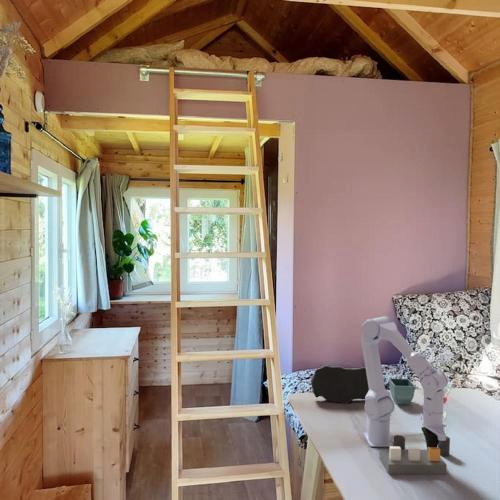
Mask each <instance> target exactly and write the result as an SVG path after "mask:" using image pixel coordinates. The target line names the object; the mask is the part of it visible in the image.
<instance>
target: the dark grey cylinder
mask: <svg viewBox="0 0 500 500" xmlns="http://www.w3.org/2000/svg"><path fill="white" fill-rule="evenodd" d="M450 445H451V438H450V437H449V436H447V435H446V441H439V443H438V446H437V447H439V448H440V457H445V458H446V457H450V449H451V448H450Z"/></svg>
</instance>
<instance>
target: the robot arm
mask: <svg viewBox="0 0 500 500" xmlns="http://www.w3.org/2000/svg"><path fill="white" fill-rule="evenodd" d="M360 327H361V337H360V342H361V343H360V344H361V349H362V355H363V360H364V361H363V362H364V367H365V368H366V374H367V380H368V386H369V391H368V393H367V395H366V396H365V399H364V401H365V403H364V412H365V414H366V419H365V420H366V422H365V424H366V427H365V432H363V436H364V438H365V440H366V441H367V443H368V445H369V446H370V447H372V448H374V447H375V448H377V447H378V448H381V447H382V448H389V446H394V443H393V442H391V439H390V433H391V432H390V428H391V426H390V425H391V417H392V413H393V412H394V410H395V405H396V404H395V401H394V400H393V398H392V395H391V392H390V390H388V389H386V387H385V385H386V384H385V381H384V374H383V369H382V364H381V356H380V352H379V351H380V350H379V345H378V344H379V342H380V341H381V340H383V341H389V342H390V343H391V344H392V345H393V346H394V347H395V349H397V350H398V351H399V352H400V353H401V354H402V355H403V357H405V358H406V365H407V366H408V367H409V368H410V369H411V370H412V371H413V373H414V374H415V375H416V376H417V378H418V379H419V380H420V386H421V388H422V390H423V409H422V411H423V413H420V418H419V419H420V420H421V425H422V427H421V428H420V429H421V431H422V433H423V435H424V439H425V444H426V450H428V447H438V443H439V441H446V436H447V434H446V432H445V428H446V427H447V424H446V423H445V422H444V420H443V419H444V418H443V417H444V396H445V395H444V394H445V390H444V389H445V388H446V387H447V386H448V382H449V381H448V378H447V375H446V374H445V372H443V371H442V370H440V369H437V368H436V367H435V366H433V365H432V363H430V361H428V359H427V358H426V355H425V354H424V353H421V352H419V351H415V350H414V349H413V348H412V346H411V345H410V344H409V342H408V341H407V340H406V339H405V338H404V336H403V335H402V334H401V332H400V331H399V329H398V327H397V324H396V323H395V322H393V320H392V319H391V318H390V317H389V316H387V315H383V316H379V317H375V318H367V319H366V320H365V321H364V322H363V323H362V324H361V325H360Z"/></svg>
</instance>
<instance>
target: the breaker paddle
mask: <svg viewBox="0 0 500 500" xmlns="http://www.w3.org/2000/svg"><path fill="white" fill-rule="evenodd" d="M440 457H441V455H440V448H439V447H438V446H437V447H428V460H429V461H440Z"/></svg>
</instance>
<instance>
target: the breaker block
mask: <svg viewBox="0 0 500 500" xmlns="http://www.w3.org/2000/svg"><path fill="white" fill-rule="evenodd" d="M407 448H408V449H406V448H405V449H401V448H400V446H394V445H393V446H389V447H388V449H387V448H385V449H382V448H381V449H379V457H378V458H379V460H380V462H381V464H382V466H383V467H384V469H385V471H386V473H387V474H389V475H447V466H448V465H447V464H446V462H445V461H444V459H442V456H440V461H429V460H428V450H427V449H421V447H420V446H408V447H407Z"/></svg>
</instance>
